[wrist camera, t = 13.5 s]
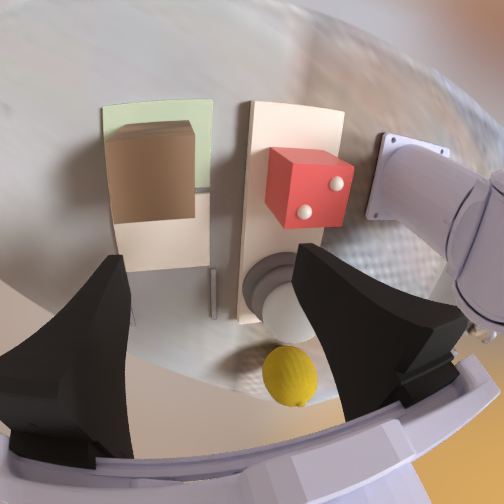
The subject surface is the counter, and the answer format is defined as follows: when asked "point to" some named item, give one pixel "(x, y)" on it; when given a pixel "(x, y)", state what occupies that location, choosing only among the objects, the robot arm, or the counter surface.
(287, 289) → the dome
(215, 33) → the counter surface
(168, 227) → the game board
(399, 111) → the counter surface
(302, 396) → the lemon
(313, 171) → the die
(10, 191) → the counter surface
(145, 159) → the brown block
